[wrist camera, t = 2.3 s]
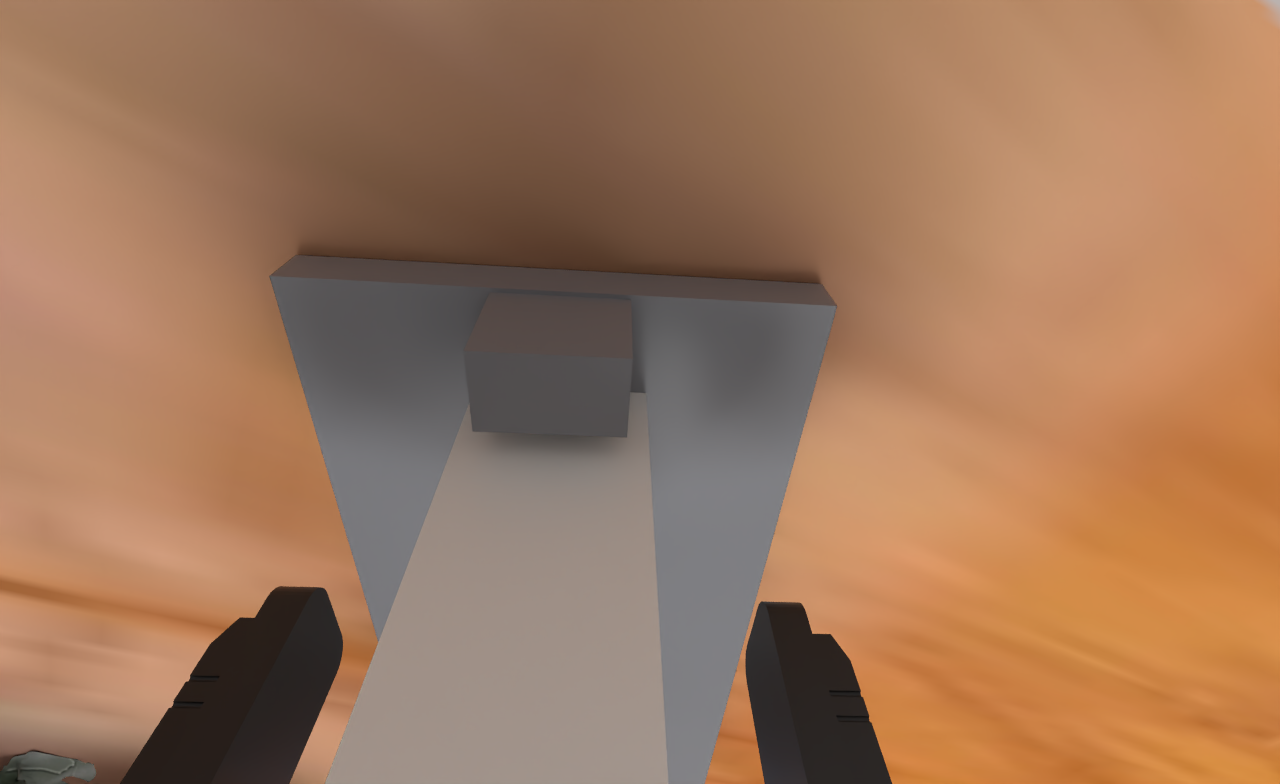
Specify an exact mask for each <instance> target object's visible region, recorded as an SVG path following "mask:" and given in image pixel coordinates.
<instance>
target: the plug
mask: <svg viewBox="0 0 1280 784" xmlns="http://www.w3.org/2000/svg"><path fill="white" fill-rule="evenodd" d="M325 784H668V768H667V750H666V733H665V715H664V697H663V680H662V662H661V645H660V627H659V610H658V592H657V575H656V557H655V540H654V522H653V505H652V487H651V470H650V452H649V435H648V417H647V400H646V393H634V392H630V404H629V418H628V432H627V438H626V437H601V436H575V435H550V434H524V433H499V432H473V431H472V422H471V414H470V405H468V408H467V410H466V413H465V415H464V418H463V421H462V423H461V426H460V429H459V431H458V434H457V437H456V439H455V442H454V444H453V447H452V450H451V452H450V455H449V458H448V460H447V463H446V466H445V468H444V471H443V473H442V476H441V479H440V481H439V484H438V487H437V489H436V492H435V495H434V497H433V500H432V502H431V505H430V508H429V510H428V513H427V516H426V518H425V521H424V524H423V526H422V529H421V531H420V534H419V537H418V539H417V542H416V545H415V547H414V550H413V553H412V555H411V558H410V560H409V563H408V566H407V568H406V571H405V574H404V576H403V579H402V582H401V584H400V587H399V589H398V592H397V595H396V597H395V600H394V603H393V605H392V608H391V611H390V613H389V616H388V618H387V621H386V624H385V626H384V629H383V632H382V634H381V637H380V640H379V642H378V645H377V647H376V650H375V653H374V655H373V658H372V661H371V663H370V666H369V669H368V671H367V674H366V676H365V679H364V682H363V684H362V687H361V690H360V692H359V695H358V698H357V700H356V703H355V705H354V708H353V711H352V713H351V716H350V719H349V721H348V724H347V727H346V729H345V732H344V734H343V737H342V740H341V742H340V745H339V748H338V750H337V753H336V756H335V758H334V761H333V763H332V766H331V769H330V771H329V774H328V777H327V779H326V782H325Z"/></svg>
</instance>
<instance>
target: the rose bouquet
mask: <svg viewBox="0 0 1280 784" xmlns="http://www.w3.org/2000/svg"><path fill="white" fill-rule="evenodd" d="M95 775H96V770H95V768H94V764H91V763H84V762H82V761H79V760H77V759H71V758H64V757H59V756H55V755H50V754H44V753H40V752H32V751H31V752H28V753H27V754H26V755H20V756H15V757H13V758H12V759H10V762H9V763H8V765H7V766H4V767H3V769H2V771H0V784H68V783H65V782H64V781H61V780H62V779H63V778H65V777H70V776H74V777H77V778H80V779H83V780H86V781H87V782H90V781H91V780H93V779H94V777H95Z"/></svg>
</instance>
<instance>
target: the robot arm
mask: <svg viewBox="0 0 1280 784" xmlns="http://www.w3.org/2000/svg"><path fill="white" fill-rule="evenodd" d="M342 650H343V639H342V634H341V631H340V628H339V626H338V623H337V620H336V617H335V614H334V611H333V608H332V605H331V602H330V600H329V597H328V594H327V592H326V590H325V589H324V588H319V587H283V586H280V587H277V588H275V589H274V590H273V591H272V592H271V593H270V594H269V596H268V597H267V599H266V600H265V602H264V604H263V605H262V607H261V609H260V610H259V612H258V614H257V615H256V617H255V618H239V619H238V620H237V621H236V622H234V623H233V624H232V625H231V626H230V627H229V628H228V629H227V630H225V631H224V632H223V633H222V634H221V635H220V636H219V637H218V638H217V639H215V640H214V641H213V642H212V643H211V644H210V645H209V647H208V648H207V650H206V652H205V653H204V655H203V656H202V658H201V659H200V661H199V662H198V664H197V665H196V667H195V669H194V670H193V672H192V673H191V675H190V680H189V681H188V682H185V684H184V686H183V687H182V689H181V690H180V692H179V693H178V695H177V696H176V698H175V700H174V701H173V702H174V704H173V706H172V708H169V709H168V710H167V712H166V713H165V715H164V717H163V718H162V720H161V721H160V723H159V724H158V726H157V727H156V729H155V730H154V732H153V734H152V735H151V737H150V738H149V740H148V741H147V743H146V744H145V746H144V747H143V749H142V751H141V752H140V754H139V755H138V757H137V758H136V760H135V761H134V763H133V764H132V766H131V768H130V769H129V771H128V772H127V774H126V775H125V777H124V778H123V780H122V781H121V783H120V784H289V783H290V780H291V778H292V776H293V773H294V771H295V769H296V766H297V764H298V762H299V760H300V757H301V755H302V753H303V750H304V748H305V746H306V743H307V741H308V739H309V736H310V734H311V732H312V729H313V727H314V725H315V722H316V720H317V718H318V715H319V713H320V711H321V708H322V706H323V704H324V702H325V699H326V697H327V695H328V692H329V690H330V688H331V685H332V683H333V681H334V678H335V676H336V674H337V671H338V668H339V665H340V661H341V657H342ZM746 679H747V685H748V691H749V697H750V702H751V708H752V714H753V719H754V725H755V731H756V736H757V742H758V748H759V753H760V759H761V765H762V770H763V776H764V782H765V784H892V782H891V779H890V776H889V773H888V770H887V767H886V764H885V761H884V758H883V755H882V752H881V749H880V747H879V744H878V741H877V738H876V735H875V732H874V729H873V726H872V723H871V722H870V721H869V714H868V711H867V708H866V705H865V702H864V699H863V697H861V694H860V692H861V690H860V687H859V685H858V682H857V679H856V676H855V673H854V670H853V667H852V664H851V661H850V659H849V658H848V657H847V655H846V654H845V653H844V651H843V650H842V649H841V647H840V646H839V645H838V643H837V642H836V641H835V640H834V638H833V637H832V636H831V634H812V631H811V628H810V624H809V621H808V618H807V614H806V611H805V609H804V607H803V605H802V604H801V603H794V602H760V604H759V606H758V609H757V613H756V616H755V620H754V623H753V627H752V631H751V634H750V638H749V641H748V645H747V649H746Z"/></svg>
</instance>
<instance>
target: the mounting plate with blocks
mask: <svg viewBox="0 0 1280 784" xmlns="http://www.w3.org/2000/svg"><path fill="white" fill-rule="evenodd" d="M270 280H271V283H272V286H273V290H274V293H275V296H276V300H277V303H278V306H279V310H280V313H281V316H282V320H283V323H284V327H285V330H286V333H287V337H288V340H289V343H290V347H291V350H292V353H293V357H294V360H295V363H296V367H297V370H298V374H299V377H300V380H301V384H302V387H303V390H304V394H305V397H306V400H307V404H308V407H309V410H310V414H311V417H312V421H313V424H314V427H315V431H316V434H317V437H318V441H319V444H320V447H321V451H322V454H323V457H324V461H325V464H326V468H327V471H328V474H329V478H330V481H331V484H332V488H333V491H334V494H335V498H336V501H337V504H338V508H339V511H340V515H341V518H342V521H343V525H344V528H345V531H346V535H347V538H348V541H349V545H350V548H351V551H352V555H353V558H354V562H355V565H356V568H357V572H358V575H359V578H360V582H361V585H362V588H363V592H364V595H365V598H366V602H367V605H368V609H369V612H370V615H371V619H372V622H373V625H374V629H375V632H376V635H377V639H378V642H379V640H380V637H381V634H382V632H383V629H384V626H385V624H386V621H387V618H388V616H389V613H390V611H391V608H392V605H393V603H394V600H395V597H396V595H397V592H398V589H399V587H400V584H401V582H402V579H403V576H404V574H405V571H406V568H407V566H408V563H409V560H410V558H411V555H412V553H413V550H414V547H415V545H416V542H417V539H418V537H419V534H420V531H421V529H422V526H423V524H424V521H425V518H426V516H427V513H428V510H429V508H430V505H431V502H432V500H433V497H434V495H435V492H436V489H437V487H438V484H439V481H440V479H441V476H442V473H443V471H444V468H445V466H446V463H447V460H448V458H449V455H450V452H451V450H452V447H453V444H454V442H455V439H456V437H457V434H458V431H459V429H460V426H461V423H462V421H463V418H464V415H465V413H466V410H467V408H468V405H470V414H471V422H472V431H473V432H499V433H524V434H550V435H575V436H601V437H626V438H627V432H628V418H629V404H630V392H634V393H646V400H647V417H648V435H649V452H650V470H651V487H652V505H653V522H654V540H655V557H656V575H657V592H658V610H659V627H660V645H661V662H662V680H663V697H664V715H665V733H666V750H667V768H668V784H705V780H706V776H707V773H708V769H709V766H710V762H711V758H712V755H713V751H714V748H715V744H716V740H717V737H718V733H719V730H720V726H721V722H722V719H723V715H724V712H725V708H726V704H727V701H728V697H729V694H730V690H731V686H732V683H733V679H734V676H735V672H736V668H737V665H738V661H739V658H740V654H741V650H742V647H743V643H744V640H745V636H746V632H747V629H748V625H749V622H750V618H751V614H752V611H753V607H754V604H755V600H756V596H757V593H758V589H759V586H760V582H761V578H762V575H763V571H764V568H765V564H766V560H767V557H768V553H769V550H770V546H771V542H772V539H773V535H774V532H775V528H776V524H777V521H778V517H779V514H780V510H781V506H782V503H783V499H784V496H785V492H786V488H787V485H788V481H789V478H790V474H791V470H792V467H793V463H794V460H795V456H796V452H797V449H798V445H799V442H800V438H801V434H802V431H803V427H804V424H805V420H806V416H807V413H808V409H809V406H810V402H811V398H812V395H813V391H814V388H815V384H816V380H817V377H818V373H819V370H820V366H821V362H822V359H823V355H824V352H825V348H826V344H827V341H828V337H829V334H830V330H831V326H832V323H833V319H834V316H835V312H836V308H837V305H836V304H835V302H834V301H833V299H832V298H831V297H830V295H829V294H828V292H827V291H826V289H825V288H824V286H823V285H822V284H814V283H796V282H778V281H760V280H742V279H724V278H706V277H688V276H670V275H651V274H633V273H615V272H597V271H579V270H561V269H543V268H525V267H506V266H488V265H470V264H452V263H434V262H416V261H398V260H380V259H361V258H343V257H325V256H307V255H295V256H294V257H293V258H292V259H290V260H289V261H288V262H287V263H285V264H284V265H283V266H281V267H280V268H279V269H278V270H276V271H275V272H274V273H273V274H271V275H270Z"/></svg>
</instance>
